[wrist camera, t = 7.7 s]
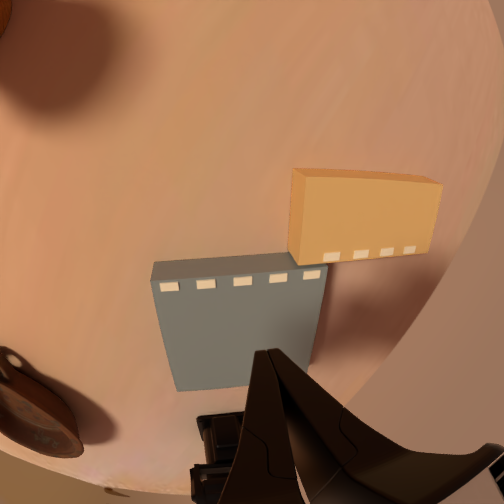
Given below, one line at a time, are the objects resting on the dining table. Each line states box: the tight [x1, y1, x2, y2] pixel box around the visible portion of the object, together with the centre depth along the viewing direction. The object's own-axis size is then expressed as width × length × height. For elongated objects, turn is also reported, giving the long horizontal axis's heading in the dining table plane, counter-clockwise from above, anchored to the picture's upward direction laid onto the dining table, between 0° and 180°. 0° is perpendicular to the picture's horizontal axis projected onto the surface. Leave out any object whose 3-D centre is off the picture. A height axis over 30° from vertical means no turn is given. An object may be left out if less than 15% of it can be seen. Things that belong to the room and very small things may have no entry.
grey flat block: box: [150, 252, 328, 392], centre depth 23 cm, size 12×12×3 cm
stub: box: [288, 168, 443, 266], centre depth 20 cm, size 6×12×3 cm, turn 89°
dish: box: [0, 353, 84, 458], centre depth 23 cm, size 18×22×5 cm
